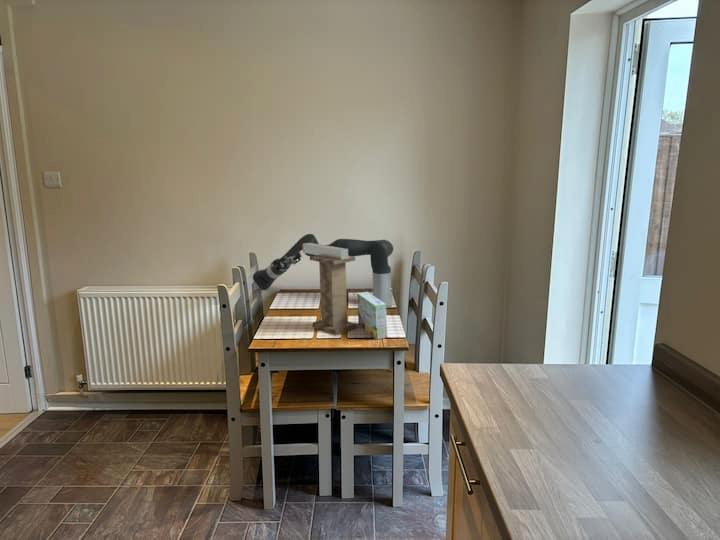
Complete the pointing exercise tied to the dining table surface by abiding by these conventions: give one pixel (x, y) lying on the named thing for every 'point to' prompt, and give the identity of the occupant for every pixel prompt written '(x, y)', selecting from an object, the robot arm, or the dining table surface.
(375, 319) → the snack box
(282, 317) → the dining table surface
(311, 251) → the bar
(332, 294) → the stand
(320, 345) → the dining table surface
